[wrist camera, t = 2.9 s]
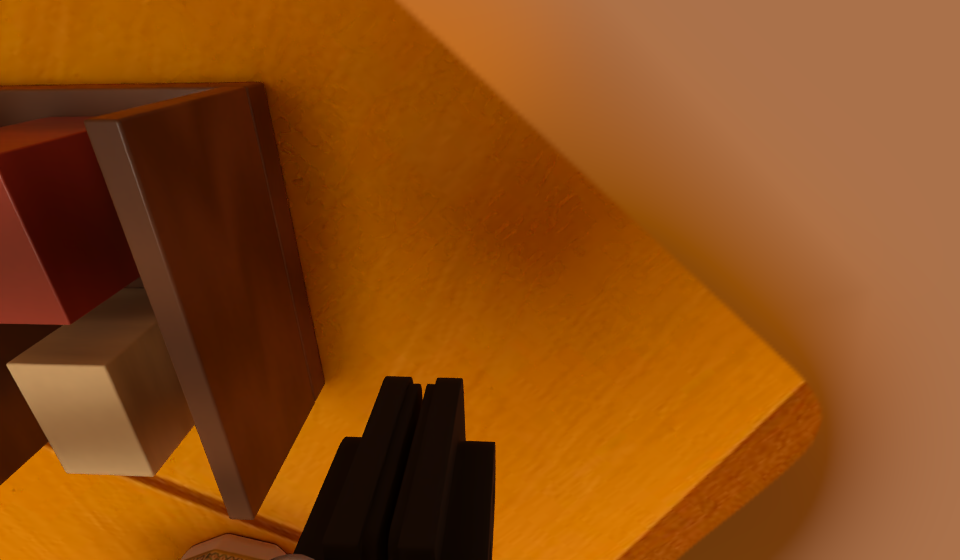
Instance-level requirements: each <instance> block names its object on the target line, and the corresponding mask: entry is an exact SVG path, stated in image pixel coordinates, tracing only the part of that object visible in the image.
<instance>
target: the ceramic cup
mask: <svg viewBox="0 0 960 560" xmlns="http://www.w3.org/2000/svg"><path fill="white" fill-rule="evenodd" d="M282 555H287V554H286V553H285V552H284V551H283V550H281V549H280V548H279V547H278V546H277V545H275V544H270V543H266V542H262V541H258V540H253V539H249V538H245V537H241V536H236V535H232V534H225V535H222V536H219V537H216V538H214V539H211V540H208V541H205V542H203V543H200V544H197V545H195V546H193V547H192V548H190V549H189V550H188V551H187V552H186V553H185V554H184V556H183V557H182V558H181V560H271V559H273V558H275V557H278V556H282Z"/></svg>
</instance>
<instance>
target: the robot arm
mask: <svg viewBox="0 0 960 560" xmlns="http://www.w3.org/2000/svg"><path fill="white" fill-rule="evenodd" d="M494 507H495V442H480V441H466V438H465V414H464V390H463V379H462V378H437V380H436V383H435V384H427V386H426V390H425V394H424V398H423V399H422V388H421V384H413V380H412V378H411V377H396V376H386V377H385V378H384V380H383V383H382V386H381V388H380V391H379V394H378V396H377V399H376V401H375V404H374V407H373V409H372V412H371V415H370V417H369V420H368V422H367V425H366V428H365V430H364V433H363V435H362V437H345V438H344V439H343V440H342V442H341V444H340V446H339V448H338V450H337V453H336V455H335V457H334V460H333V462H332V464H331V467H330V469H329V471H328V474H327V476H326V478H325V481H324V483H323V485H322V488H321V490H320V492H319V495H318V497H317V499H316V502H315V504H314V506H313V509H312V511H311V513H310V516H309V518H308V520H307V523H306V525H305V527H304V530H303V532H302V535H301V537H300V539H299V542H298V544H297V546H296V549H295V551H294V553H293V554H287V555H282V556H278V557H275V558H273V559H271V560H492V548H493V528H494Z"/></svg>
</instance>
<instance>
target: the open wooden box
mask: <svg viewBox="0 0 960 560" xmlns="http://www.w3.org/2000/svg"><path fill="white" fill-rule="evenodd" d="M324 384H325V383H324V378H323V373H322V368H321V363H320V358H319V353H318V348H317V343H316V338H315V333H314V328H313V324H312V319H311V314H310V309H309V304H308V299H307V294H306V289H305V284H304V279H303V274H302V269H301V265H300V260H299V255H298V250H297V245H296V240H295V235H294V230H293V225H292V220H291V215H290V210H289V206H288V201H287V196H286V191H285V186H284V181H283V176H282V171H281V166H280V161H279V156H278V151H277V147H276V142H275V137H274V132H273V127H272V122H271V117H270V112H269V107H268V102H267V97H266V92H265V88H264V84H263V83H261V82H227V83H155V84H83V85H12V86H0V485H1V484H2V483H3V482H5V481H6V480H7V479H8V478H9V477H10V476H11V475H12V474H13V473H14V472H16V471H17V470H18V469H19V468H20V467H21V466H22V465H23V464H24V463H25V462H27V461H28V460H29V459H30V458H31V457H32V456H33V455H34V454H35V453H36V452H38V451H39V450H40V449H41V448H42V447H43V446H44V445H45V444H46V443H48V442H49V443H50V445H51V446H52V448H53V450H54V452H55V454H56V455H57V457H58V459H59V461H60V463H61V464H62V466H63V468H64V470H65V471H66V473H75V474H100V475H125V476H151V477H152V476H154V475H155V474H156V473H157V472H158V470H159V469H160V468H161V467H162V465H163V464H164V463H165V462H166V460H167V459H168V458H169V457H170V455H171V454H172V453H173V451H174V450H175V449H176V448H177V446H178V445H179V444H180V443H181V441H182V440H183V439H184V438H185V436H186V435H187V434H188V432H189V431H190V430H191V429H192V427H193V426H194V425H195V426H196V428H197V431H198V434H199V436H200V439H201V442H202V445H203V447H204V450H205V453H206V455H207V458H208V461H209V463H210V466H211V469H212V472H213V474H214V477H215V480H216V482H217V485H218V488H219V491H220V493H221V496H222V499H223V501H224V504H225V507H226V509H227V512H228V515H229V518H230V519H242V520H253V519H254V518H255V516H256V515H257V513H258V511H259V509H260V507H261V505H262V503H263V501H264V499H265V497H266V495H267V493H268V492H269V490H270V488H271V486H272V484H273V482H274V480H275V478H276V476H277V474H278V472H279V470H280V469H281V467H282V465H283V463H284V461H285V459H286V457H287V455H288V453H289V451H290V449H291V448H292V446H293V444H294V442H295V440H296V438H297V436H298V434H299V432H300V430H301V428H302V426H303V425H304V423H305V421H306V419H307V417H308V415H309V413H310V411H311V409H312V407H313V405H314V403H315V401H316V399H317V397H318V395H319V394H320V392H321V390H322V388H323V386H324Z"/></svg>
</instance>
